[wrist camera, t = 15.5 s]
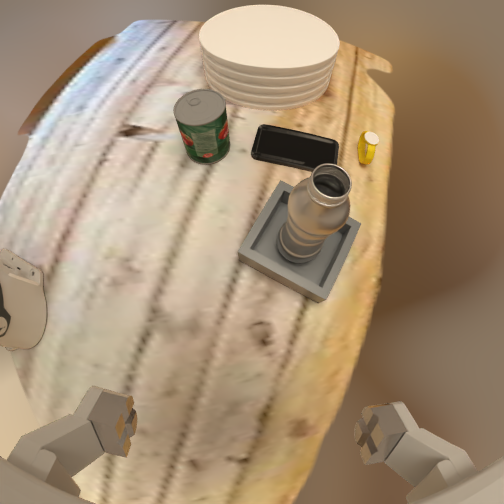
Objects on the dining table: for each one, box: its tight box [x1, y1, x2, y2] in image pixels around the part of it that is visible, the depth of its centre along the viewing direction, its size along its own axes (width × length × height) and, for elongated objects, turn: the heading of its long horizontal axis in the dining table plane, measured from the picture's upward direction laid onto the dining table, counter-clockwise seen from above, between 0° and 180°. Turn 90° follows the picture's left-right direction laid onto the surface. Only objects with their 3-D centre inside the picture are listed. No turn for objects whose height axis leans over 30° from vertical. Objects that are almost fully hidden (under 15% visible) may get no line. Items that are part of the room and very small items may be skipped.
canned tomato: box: [174, 89, 230, 165], centre depth 43 cm, size 8×8×11 cm
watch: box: [358, 131, 379, 164], centre depth 46 cm, size 6×3×6 cm, turn 174°
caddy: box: [238, 180, 361, 303], centre depth 41 cm, size 13×12×5 cm
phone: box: [251, 124, 339, 172], centre depth 48 cm, size 8×1×15 cm
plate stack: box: [199, 5, 340, 111], centre depth 49 cm, size 28×28×12 cm
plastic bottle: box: [277, 163, 352, 263], centre depth 33 cm, size 6×7×20 cm
